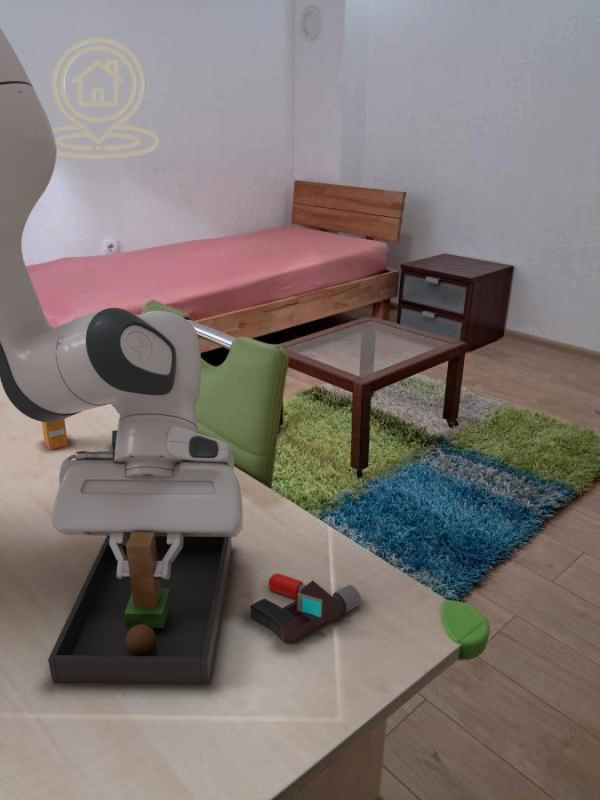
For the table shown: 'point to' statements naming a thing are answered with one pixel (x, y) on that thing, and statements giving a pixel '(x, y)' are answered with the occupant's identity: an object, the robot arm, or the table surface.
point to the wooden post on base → (145, 584)
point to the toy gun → (302, 608)
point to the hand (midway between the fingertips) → (143, 579)
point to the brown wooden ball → (140, 639)
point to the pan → (175, 643)
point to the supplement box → (55, 434)
